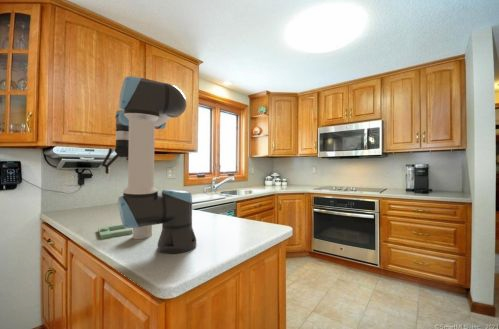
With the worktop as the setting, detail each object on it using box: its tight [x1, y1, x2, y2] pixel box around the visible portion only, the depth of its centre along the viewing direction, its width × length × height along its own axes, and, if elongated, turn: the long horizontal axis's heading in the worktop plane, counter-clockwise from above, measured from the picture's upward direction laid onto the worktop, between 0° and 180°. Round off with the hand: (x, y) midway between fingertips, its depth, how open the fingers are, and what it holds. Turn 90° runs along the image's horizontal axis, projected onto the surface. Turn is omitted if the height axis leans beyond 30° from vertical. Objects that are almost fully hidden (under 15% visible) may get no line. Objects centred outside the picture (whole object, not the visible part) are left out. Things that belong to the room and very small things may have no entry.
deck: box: [97, 223, 133, 240], centre depth 113 cm, size 16×13×3 cm
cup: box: [132, 225, 153, 240], centre depth 107 cm, size 8×8×12 cm
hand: (123, 179), depth 121 cm, fingers open, 13 cm apart
